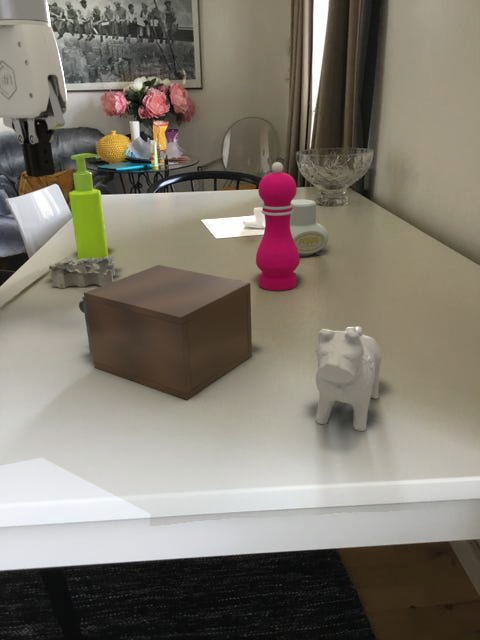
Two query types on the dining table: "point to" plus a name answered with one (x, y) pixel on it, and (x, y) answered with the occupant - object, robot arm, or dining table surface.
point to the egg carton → (83, 272)
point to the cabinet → (170, 328)
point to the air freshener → (306, 228)
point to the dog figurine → (347, 372)
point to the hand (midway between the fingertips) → (41, 175)
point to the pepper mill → (277, 232)
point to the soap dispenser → (87, 213)
